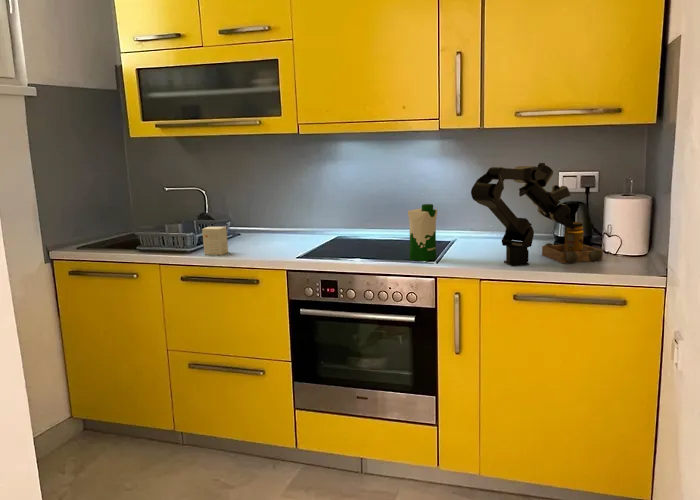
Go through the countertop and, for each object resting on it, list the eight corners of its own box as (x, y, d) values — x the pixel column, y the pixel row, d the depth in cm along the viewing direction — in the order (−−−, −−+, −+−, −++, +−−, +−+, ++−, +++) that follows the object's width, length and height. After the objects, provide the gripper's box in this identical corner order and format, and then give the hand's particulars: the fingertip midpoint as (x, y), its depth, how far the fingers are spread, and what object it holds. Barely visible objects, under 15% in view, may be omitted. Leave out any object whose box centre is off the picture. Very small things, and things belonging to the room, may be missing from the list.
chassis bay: (563, 264, 210) (563, 252, 209) (540, 254, 225) (540, 243, 225) (604, 260, 212) (604, 249, 211) (578, 251, 228) (579, 241, 227)
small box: (228, 252, 250) (226, 226, 247) (222, 255, 244) (220, 228, 242) (210, 251, 252) (208, 226, 250) (203, 254, 246) (201, 228, 244)
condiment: (588, 257, 217) (589, 223, 214) (569, 260, 214) (570, 225, 211) (573, 253, 223) (574, 220, 221) (554, 256, 220) (555, 222, 218)
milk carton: (427, 263, 218) (426, 206, 214) (405, 260, 223) (404, 205, 219) (440, 258, 224) (439, 203, 220) (418, 256, 230) (418, 202, 226)
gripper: (564, 180, 204) (597, 213, 206) (547, 176, 222) (577, 205, 224) (540, 205, 206) (572, 237, 208) (524, 198, 224) (554, 228, 226)
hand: (569, 226), depth 216 cm, fingers open, 9 cm apart
